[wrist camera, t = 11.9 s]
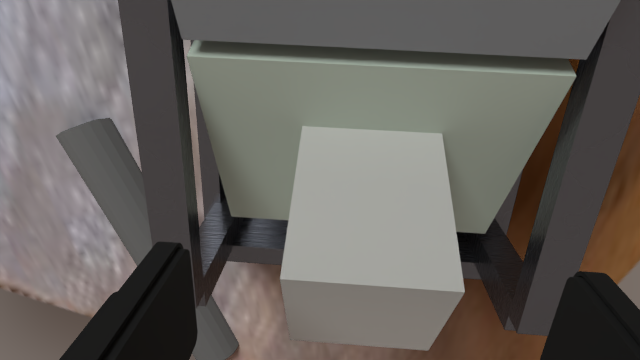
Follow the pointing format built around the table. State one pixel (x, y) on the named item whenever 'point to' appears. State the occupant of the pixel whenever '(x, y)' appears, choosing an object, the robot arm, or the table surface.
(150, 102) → the trapdoor frame
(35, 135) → the table surface
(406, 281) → the matte off-white cube
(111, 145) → the gray half cylinder
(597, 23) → the trapdoor
